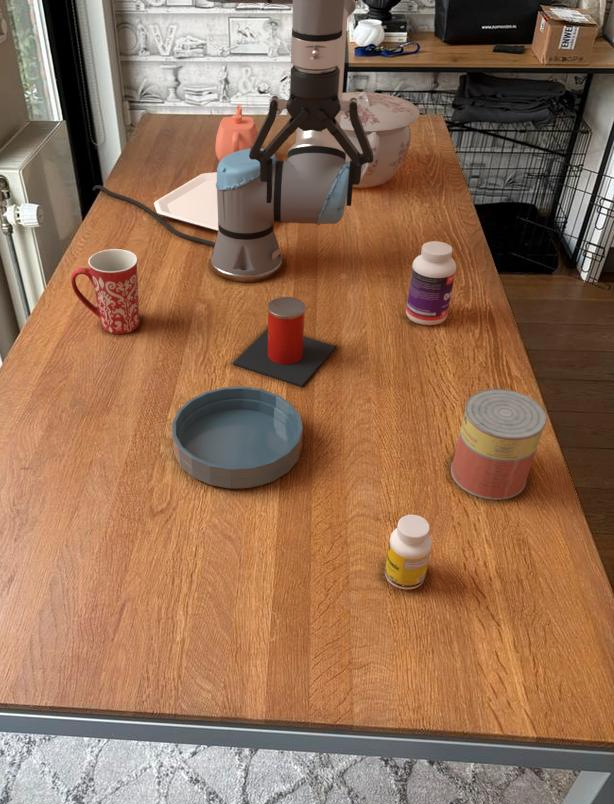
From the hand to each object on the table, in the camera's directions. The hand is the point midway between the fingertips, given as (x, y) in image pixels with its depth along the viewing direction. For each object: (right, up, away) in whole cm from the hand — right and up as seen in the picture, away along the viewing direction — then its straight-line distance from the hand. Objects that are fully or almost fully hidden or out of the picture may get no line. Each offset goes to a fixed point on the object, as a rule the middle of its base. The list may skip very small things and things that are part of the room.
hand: (308, 201), depth 133 cm
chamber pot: (+18, +31, +69) cm, 77 cm away
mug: (-37, -18, +18) cm, 45 cm away
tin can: (-4, -25, +9) cm, 27 cm away
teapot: (-13, +39, +77) cm, 87 cm away
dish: (-12, -43, -9) cm, 45 cm away
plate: (-16, +18, +56) cm, 61 cm away
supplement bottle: (+11, -61, -28) cm, 68 cm away
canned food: (+26, -47, -14) cm, 56 cm away
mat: (-4, -25, +9) cm, 27 cm away
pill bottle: (+24, -16, +19) cm, 35 cm away
